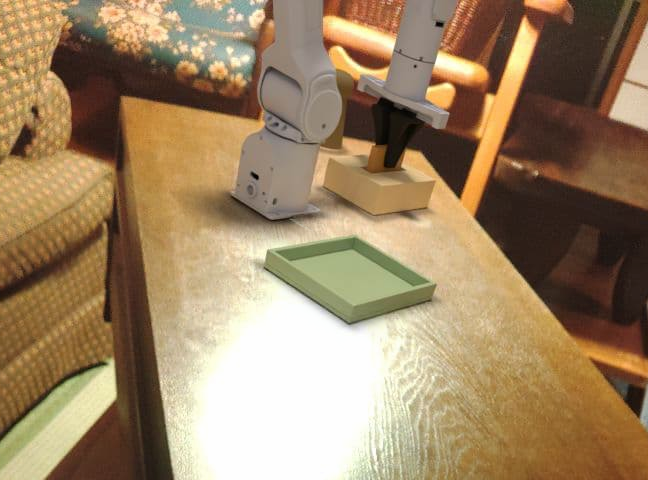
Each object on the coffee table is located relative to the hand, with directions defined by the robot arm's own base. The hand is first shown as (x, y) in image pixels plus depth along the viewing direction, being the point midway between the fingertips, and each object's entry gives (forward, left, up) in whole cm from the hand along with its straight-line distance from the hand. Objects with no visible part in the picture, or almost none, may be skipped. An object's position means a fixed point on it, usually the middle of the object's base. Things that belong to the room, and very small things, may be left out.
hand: (384, 164), depth 106 cm
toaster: (0, 0, -5) cm, 5 cm away
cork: (+10, +20, -5) cm, 23 cm away
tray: (-26, -18, -5) cm, 32 cm away
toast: (0, 0, -4) cm, 4 cm away
